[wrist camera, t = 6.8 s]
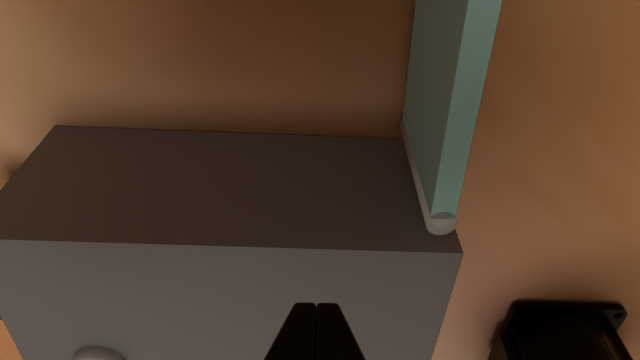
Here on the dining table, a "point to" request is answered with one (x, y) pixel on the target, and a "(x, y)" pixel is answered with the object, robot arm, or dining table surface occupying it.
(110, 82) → the dining table surface
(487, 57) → the grey-green bar
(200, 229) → the large grey box
